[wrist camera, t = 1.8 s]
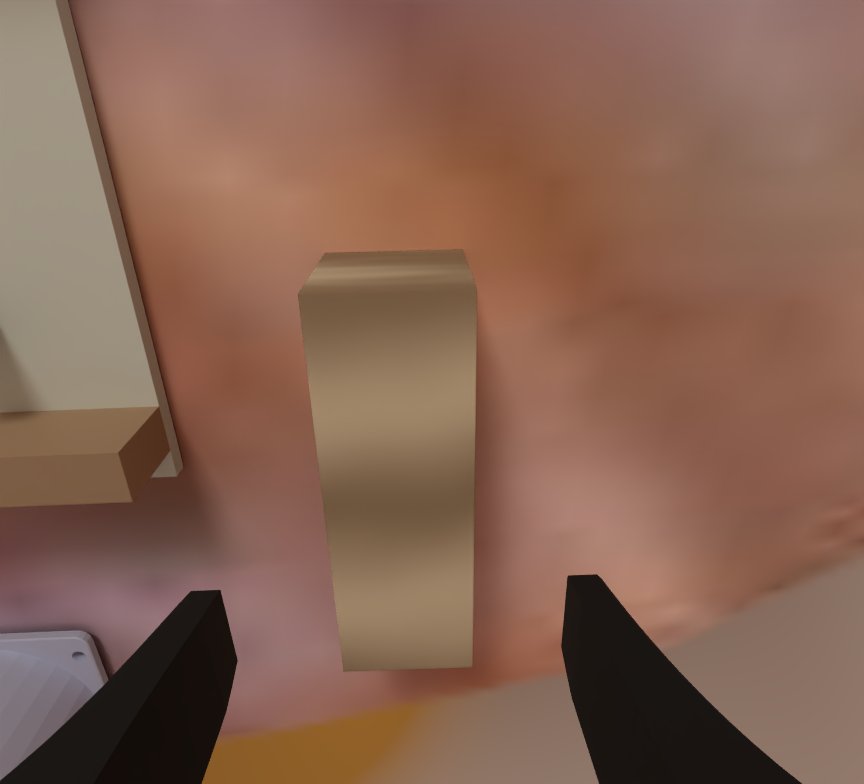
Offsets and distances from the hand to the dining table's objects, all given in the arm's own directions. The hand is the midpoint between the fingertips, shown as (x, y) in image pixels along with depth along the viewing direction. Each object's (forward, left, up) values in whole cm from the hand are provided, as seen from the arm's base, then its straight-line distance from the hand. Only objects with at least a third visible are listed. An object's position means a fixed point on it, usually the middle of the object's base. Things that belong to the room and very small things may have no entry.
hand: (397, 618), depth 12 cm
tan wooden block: (0, 0, -8) cm, 8 cm away
